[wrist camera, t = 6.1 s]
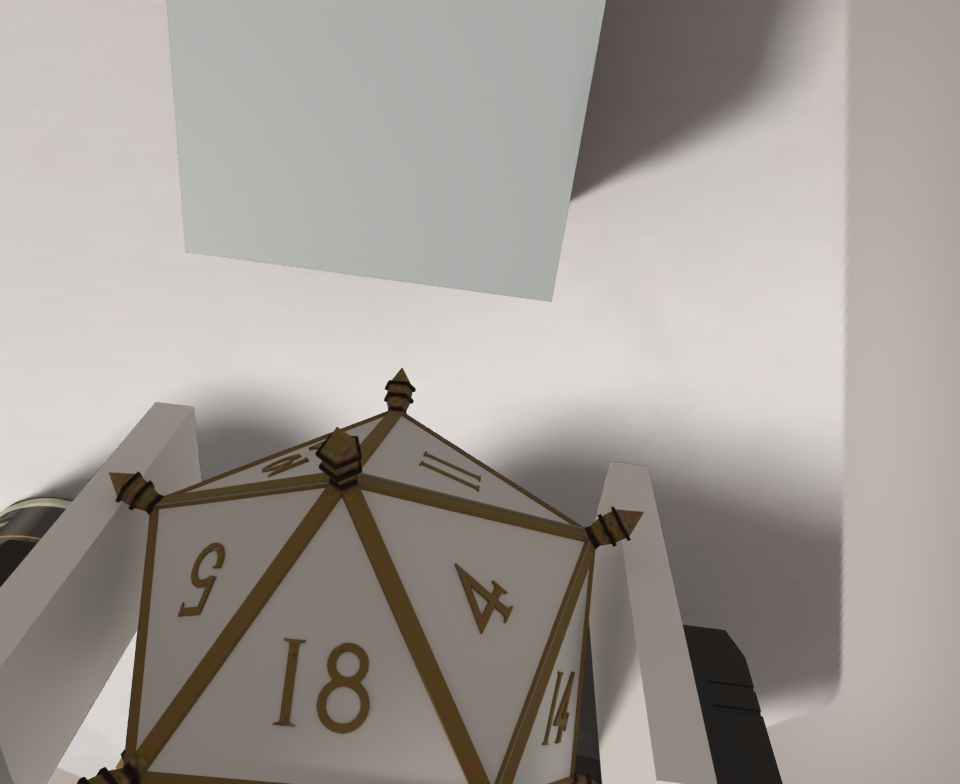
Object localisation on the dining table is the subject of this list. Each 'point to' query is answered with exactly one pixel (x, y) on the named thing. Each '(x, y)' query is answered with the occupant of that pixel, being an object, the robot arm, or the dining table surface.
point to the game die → (360, 619)
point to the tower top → (384, 134)
